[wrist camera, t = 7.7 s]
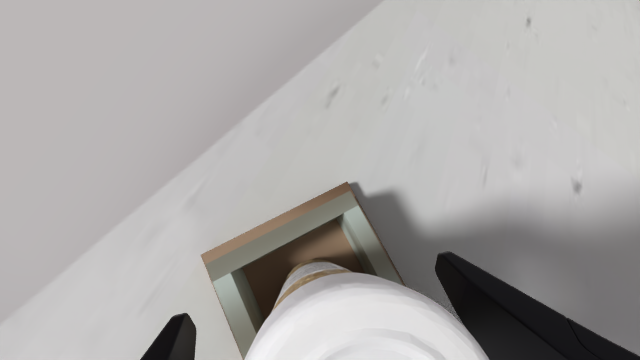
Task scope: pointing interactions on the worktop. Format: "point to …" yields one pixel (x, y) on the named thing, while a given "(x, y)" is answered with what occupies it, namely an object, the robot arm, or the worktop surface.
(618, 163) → the worktop surface
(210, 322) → the worktop surface
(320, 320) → the sprinkles bottle
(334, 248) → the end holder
